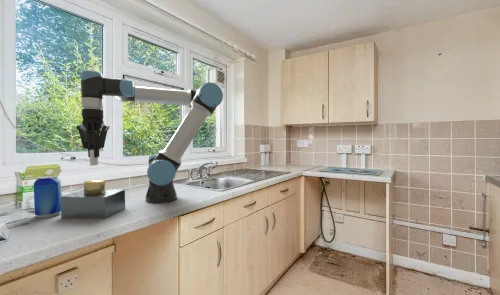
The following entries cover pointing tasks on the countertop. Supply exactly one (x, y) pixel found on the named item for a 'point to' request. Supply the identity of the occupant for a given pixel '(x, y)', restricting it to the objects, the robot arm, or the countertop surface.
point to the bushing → (94, 187)
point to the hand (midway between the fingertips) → (94, 165)
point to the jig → (92, 204)
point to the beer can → (47, 196)
